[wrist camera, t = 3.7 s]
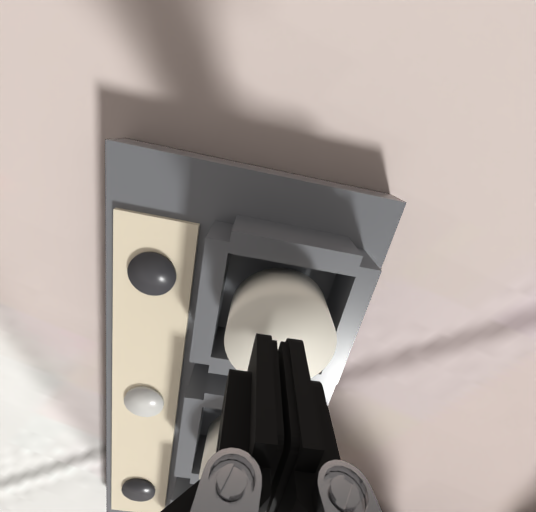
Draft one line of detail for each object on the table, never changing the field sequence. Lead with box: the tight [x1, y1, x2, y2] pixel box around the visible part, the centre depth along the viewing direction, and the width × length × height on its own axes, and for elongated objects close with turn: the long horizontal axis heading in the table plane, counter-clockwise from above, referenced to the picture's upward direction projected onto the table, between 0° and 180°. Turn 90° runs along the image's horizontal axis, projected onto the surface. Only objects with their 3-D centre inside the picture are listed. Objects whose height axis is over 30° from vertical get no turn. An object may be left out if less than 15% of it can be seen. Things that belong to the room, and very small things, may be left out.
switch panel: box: [105, 138, 406, 512], centre depth 19 cm, size 14×30×4 cm, turn 168°
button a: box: [224, 268, 337, 378], centre depth 13 cm, size 5×5×2 cm
